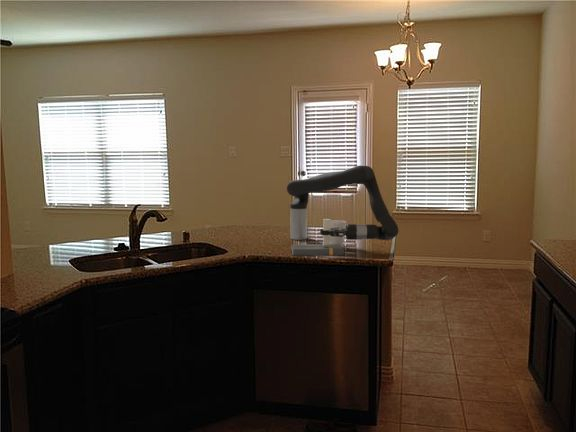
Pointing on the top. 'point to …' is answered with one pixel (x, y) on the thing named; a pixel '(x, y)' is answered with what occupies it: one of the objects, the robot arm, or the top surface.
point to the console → (317, 249)
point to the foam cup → (335, 225)
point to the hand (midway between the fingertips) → (320, 232)
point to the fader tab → (326, 237)
